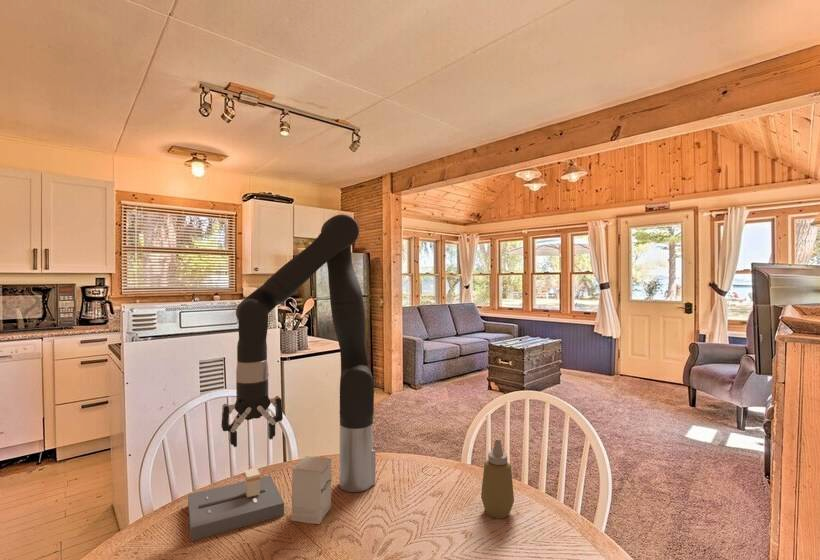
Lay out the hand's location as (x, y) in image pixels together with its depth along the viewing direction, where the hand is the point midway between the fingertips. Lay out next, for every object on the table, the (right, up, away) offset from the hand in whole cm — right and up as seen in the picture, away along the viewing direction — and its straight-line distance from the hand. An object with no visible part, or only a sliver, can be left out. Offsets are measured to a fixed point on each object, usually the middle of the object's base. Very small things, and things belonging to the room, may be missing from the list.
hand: (253, 442), depth 103 cm
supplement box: (+16, -17, -3) cm, 23 cm away
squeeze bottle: (+61, -17, -2) cm, 64 cm away
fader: (0, -13, 0) cm, 13 cm away
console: (-4, -16, -2) cm, 17 cm away
